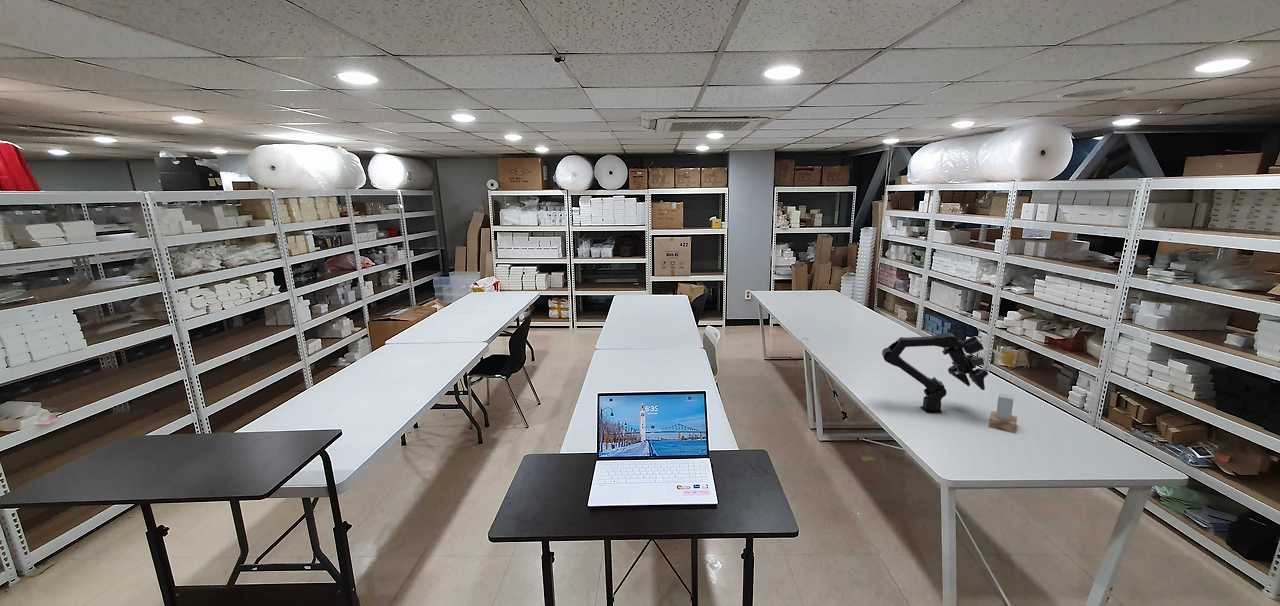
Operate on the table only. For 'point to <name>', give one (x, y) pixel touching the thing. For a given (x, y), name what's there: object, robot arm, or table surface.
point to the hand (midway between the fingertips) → (976, 387)
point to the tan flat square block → (1002, 423)
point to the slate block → (1004, 406)
